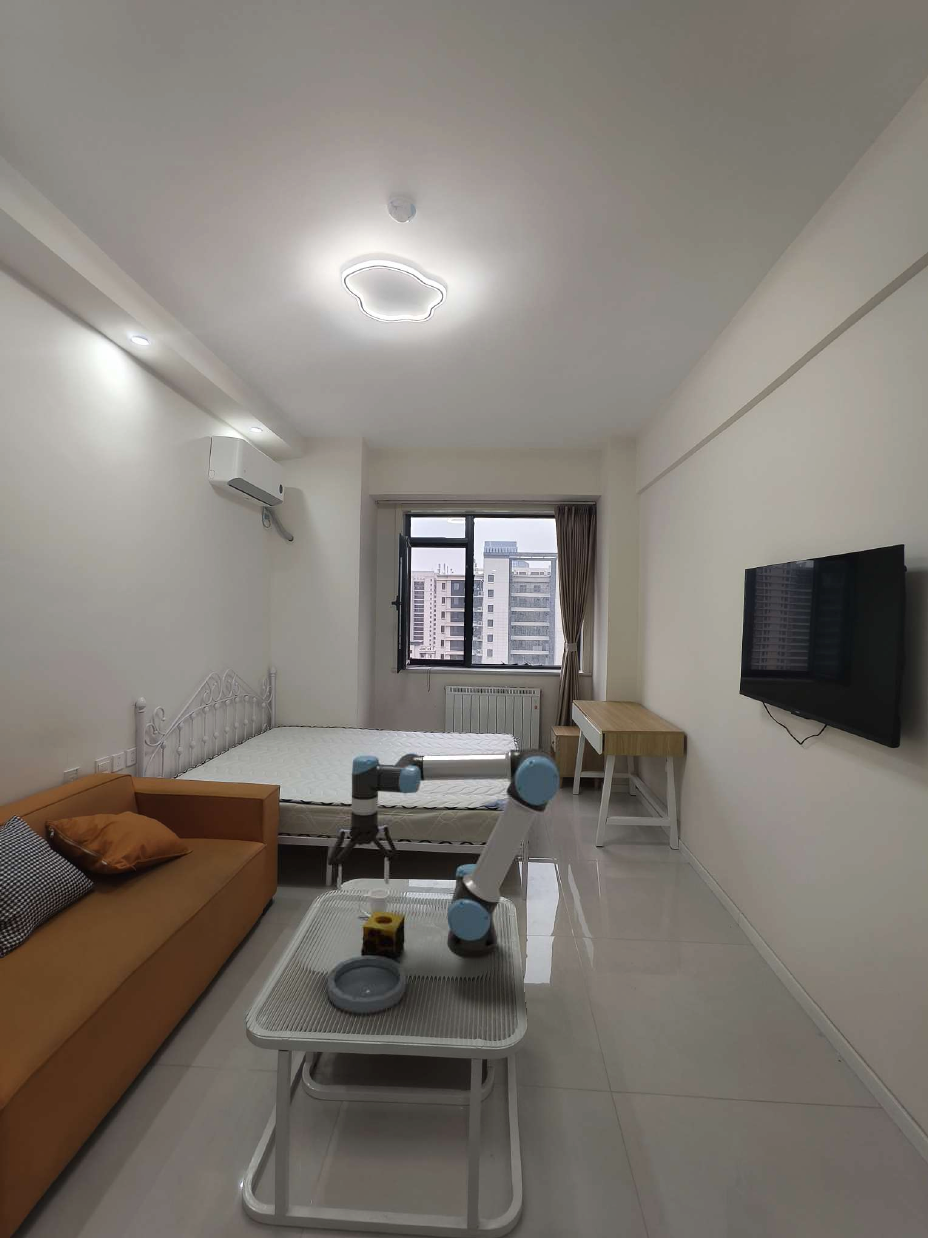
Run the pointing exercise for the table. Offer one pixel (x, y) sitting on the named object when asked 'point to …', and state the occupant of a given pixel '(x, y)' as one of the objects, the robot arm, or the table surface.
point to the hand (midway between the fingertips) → (363, 885)
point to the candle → (384, 935)
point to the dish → (366, 984)
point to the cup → (377, 900)
